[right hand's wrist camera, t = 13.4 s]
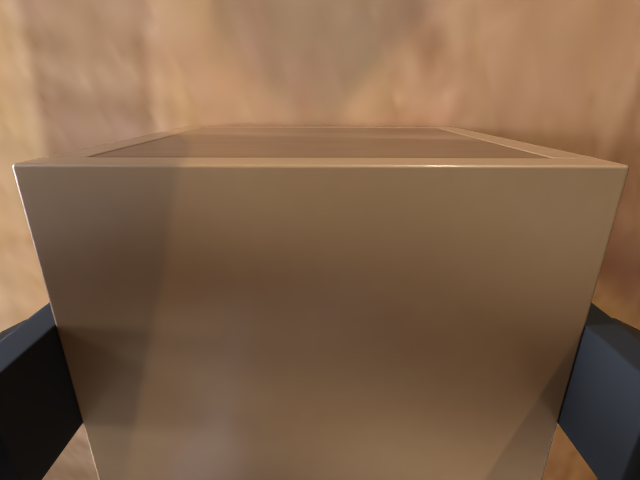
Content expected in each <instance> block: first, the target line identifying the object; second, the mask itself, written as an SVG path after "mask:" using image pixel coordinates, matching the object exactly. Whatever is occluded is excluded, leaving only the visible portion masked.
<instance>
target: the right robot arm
mask: <svg viewBox="0 0 640 480" xmlns="http://www.w3.org/2000/svg"><path fill="white" fill-rule="evenodd" d="M82 423H83V421H82V417H81V414H80V410H79V406H78V403H77V399H76V396H75V392H74V388H73V385H72V381H71V377H70V374H69V370H68V367H67V363H66V359H65V356H64V352H63V349H62V345H61V341H60V338H59V334H58V331H57V327H56V323H55V320H54V316H53V312H52V309H51V305H50V302H49V303H48V304H47V305H45V306H44V307H43V308H42V309H40V310H39V311H38V312H36V313H35V314H34V315H32V316H31V317H30V318H29V319H27V320H24V321H22V322H20V323H18V324H16V325H14V326H12V327H10V328H8V329H6V330H4V331H2V332H1V333H0V480H42V478H43V477H44V476H45V474H46V473H47V472H48V470H49V469H50V467H51V466H52V465H53V463H54V462H55V460H56V459H57V458H58V456H59V455H60V453H61V452H62V451H63V449H64V448H65V447H66V445H67V444H68V442H69V441H70V440H71V438H72V437H73V435H74V434H75V433H76V431H77V430H78V429H79V427H80V426H81V424H82ZM558 424H559V425H560V427H561V428H562V429H563V431H564V432H565V433H566V435H567V436H568V438H569V439H570V440H571V442H572V443H573V445H574V446H575V447H576V449H577V450H578V452H579V453H580V454H581V456H582V457H583V458H584V460H585V461H586V463H587V464H588V465H589V467H590V468H591V470H592V471H593V472H594V474H595V475H596V476H597V478H598V479H599V480H640V331H639V330H638V329H636V328H634V327H632V326H629V325H627V324H625V323H623V322H621V321H619V320H617V319H615V318H611V317H609V316H608V315H607V314H605V313H604V312H603V311H601V310H600V309H599V308H598V307H596V306H595V305H594V304H592V303H591V305H590V308H589V312H588V316H587V319H586V323H585V326H584V330H583V333H582V337H581V340H580V344H579V347H578V351H577V354H576V358H575V362H574V365H573V369H572V372H571V376H570V379H569V383H568V386H567V390H566V393H565V397H564V400H563V404H562V408H561V411H560V415H559V418H558Z"/></svg>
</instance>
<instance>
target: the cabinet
mask: <svg viewBox="0 0 640 480" xmlns="http://www.w3.org/2000/svg"><path fill="white" fill-rule="evenodd" d="M12 168H13V172H14V175H15V179H16V182H17V186H18V190H19V193H20V197H21V200H22V204H23V208H24V211H25V215H26V218H27V222H28V226H29V229H30V233H31V237H32V240H33V244H34V247H35V251H36V255H37V258H38V262H39V265H40V269H41V273H42V276H43V280H44V284H45V287H46V291H47V294H48V298H49V302H50V305H51V309H52V312H53V316H54V320H55V323H56V327H57V331H58V334H59V338H60V341H61V345H62V349H63V352H64V356H65V359H66V363H67V367H68V370H69V374H70V377H71V381H72V385H73V388H74V392H75V396H76V399H77V403H78V406H79V410H80V414H81V417H82V421H83V424H84V428H85V432H86V435H87V439H88V443H89V446H90V450H91V453H92V457H93V461H94V464H95V468H96V471H97V475H98V479H99V480H541V478H542V475H543V471H544V468H545V464H546V461H547V457H548V454H549V450H550V446H551V443H552V439H553V436H554V432H555V429H556V425H557V422H558V418H559V415H560V411H561V408H562V404H563V400H564V397H565V393H566V390H567V386H568V383H569V379H570V376H571V372H572V369H573V365H574V362H575V358H576V354H577V351H578V347H579V344H580V340H581V337H582V333H583V330H584V326H585V323H586V319H587V316H588V312H589V308H590V305H591V301H592V298H593V294H594V291H595V287H596V284H597V280H598V277H599V273H600V269H601V266H602V262H603V259H604V255H605V252H606V248H607V245H608V241H609V238H610V234H611V231H612V227H613V223H614V220H615V216H616V213H617V209H618V206H619V202H620V199H621V195H622V192H623V188H624V185H625V181H626V177H627V174H628V170H629V166H627V165H625V164H620V163H616V162H611V161H607V160H602V159H597V158H594V157H589V156H585V155H580V154H575V153H571V152H566V151H562V150H557V149H552V148H548V147H543V146H539V145H534V144H530V143H525V142H520V141H516V140H511V139H507V138H502V137H497V136H493V135H488V134H484V133H479V132H475V131H470V130H465V129H461V128H455V127H383V126H187V127H183V128H178V129H173V130H168V131H164V132H159V133H155V134H150V135H145V136H141V137H136V138H131V139H127V140H122V141H118V142H113V143H108V144H104V145H99V146H94V147H90V148H85V149H80V150H76V151H71V152H67V153H62V154H57V155H53V156H49V157H43V158H38V159H34V160H29V161H24V162H20V163H16V164H14V165H13V167H12Z"/></svg>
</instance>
